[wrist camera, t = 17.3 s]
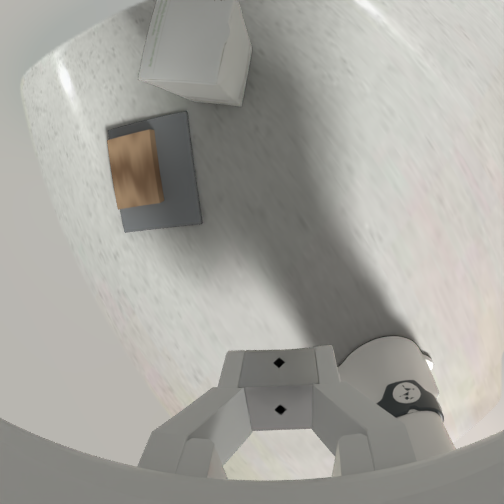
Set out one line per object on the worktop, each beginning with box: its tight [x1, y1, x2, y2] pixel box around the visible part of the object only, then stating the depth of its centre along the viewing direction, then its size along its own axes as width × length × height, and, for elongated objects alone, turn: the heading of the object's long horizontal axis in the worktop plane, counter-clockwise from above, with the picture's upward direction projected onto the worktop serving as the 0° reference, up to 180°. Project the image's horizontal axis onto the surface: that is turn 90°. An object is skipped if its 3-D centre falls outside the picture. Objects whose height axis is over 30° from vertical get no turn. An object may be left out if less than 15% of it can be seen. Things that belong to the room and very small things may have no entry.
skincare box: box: [138, 0, 252, 107], centre depth 24 cm, size 8×7×16 cm
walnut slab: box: [107, 129, 164, 209], centre depth 35 cm, size 9×2×6 cm
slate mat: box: [108, 111, 202, 233], centre depth 36 cm, size 14×11×1 cm
